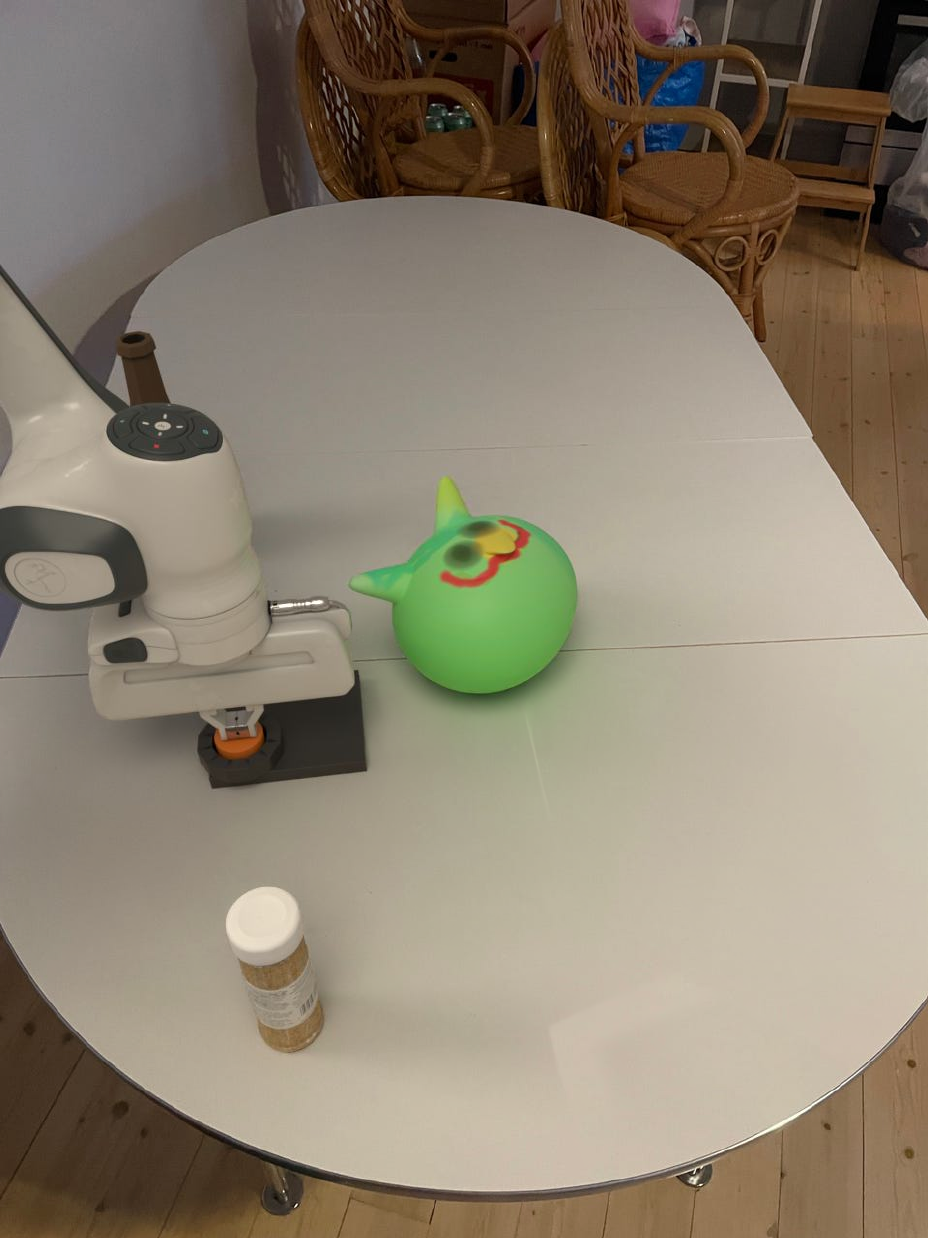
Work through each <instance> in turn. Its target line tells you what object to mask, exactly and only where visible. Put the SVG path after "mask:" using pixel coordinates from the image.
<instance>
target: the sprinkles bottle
mask: <svg viewBox="0 0 928 1238" xmlns="http://www.w3.org/2000/svg"><path fill="white" fill-rule="evenodd" d="M225 932H226V937H227V940H228V943H229V946H230V949H231V951H232V952H233V954H234V955H235V956H236V958H237V960H238V964H239V968H240V973H241V976H242V980H243V983H244V984H243V985H244V987H245V989H246V993H247V996H248V998H249V999H248V1000H249V1002H250V1005H251V1008H252V1010H253V1013H254V1015H255V1018H256V1020H257V1023H258V1025H257V1026H258V1031H259V1035H260V1036H261V1038H262V1040H263V1042H264V1043H265V1044H266V1045H267V1046H269V1047H270V1048H271V1049H273V1050H275V1051H278V1052H283V1053H284V1052H285V1053H291V1052H297V1051H299V1050H302V1049H305V1047H307V1046H309V1045H311V1044H312V1043H313V1042H314V1040H316V1038H317V1037H318V1036H319V1034H320V1032H321V1030H322V1028H323V1025H324V1024H323V1023H324V1018H325V1017H324V1016H325V1014H324V1010H323V1009H324V1008H323V1005H322V1003H321V1001H320V998H319V988H318V984H317V980H316V979H317V978H316V975H315V971H314V967H313V962H312V958H311V954H310V950H309V947H308V944H307V942H306V939H305V936H304V932H305V923H304V918H303V914H302V910H301V908H300V904H299V902H298V901H297V899H296V898H295V896H294V895H293V894H291V893H290V892H289V891H288V890H286V889H284V888H281V887H277V886H271V885H270V886H268V885H267V886H259V887H256V888H253V889H250V890H248V891H246V892H244V893H243V894H241V895H240V896H239V897H238V898H237V899H236V900H234V902H233V903H232V904H231V906H230V907H229V909H228V911H227V914H226V917H225Z"/></svg>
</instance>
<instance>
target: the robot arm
mask: <svg viewBox="0 0 928 1238" xmlns="http://www.w3.org/2000/svg"><path fill="white" fill-rule="evenodd" d="M0 407H1V408H2V410H3V412H4V413H5V415H6V417H7V419H8V422H9V425H10V426H9V427H10V432H11V438H12V439H11V442H12V448H11V451H12V452H11V454H10V456H9V458H8V460H7V463H6V464H5V467H4V469H3V471H2V473H1V475H0V591H1V592H2V593H4V594H5V595H6V596H7V597H9V598H11V599H12V600H14V601H16V602H17V603H19V604H22V605H24V606H27V607H29V608H32V609H36V610H40V611H48V612H69V611H70V612H71V611H77V610H79V611H80V610H85V609H91V608H93V609H92V611H91V616H90V619H89V620H90V621H89V626H88V631H87V632H88V633H87V654H88V656H89V659H90V662H89V669H88V674H87V677H88V680H87V681H88V685H89V691H90V695H91V699H92V703H93V705H94V709H95V712H96V713H97V714H98V715H99V716H100V717H103V718H104V719H106V720H107V721H111V722H118V721H126V720H135V719H143V718H151V717H152V718H154V717H162V716H170V715H179V714H189V713H197V712H198V713H199V716H200V718H201V719H203V720H204V721H205V722H206V723H207V724H208V723H210V724H211V725H212V726H214V727H215V728H218V729H219V733H220V737H221V740H222V741H223V740H231V739H239V738H249V737H257V721H258V719H259V717H260V716H261V714H262V713H263V711H264V704H271V703H280V702H289V701H298V700H306V699H315V698H324V697H334V696H342V695H345V694H347V693H348V692H349V690H350V689H351V688H352V687H353V686H354V670H355V668H354V660H353V659H354V658H353V653H352V649H351V644H350V641H349V636H350V635H351V633H352V630H353V622H352V621H353V620H352V613H351V611H350V609H349V608H348V606H347V604H344V603H343V602H340V601H338V600H335V599H329V596H325V595H316V596H311V597H310V598H298V599H297V598H287V599H286V598H285V599H278V600H269V599H268V594H267V588H266V584H265V583H266V582H265V578H264V574H263V568H262V565H261V561H260V558H259V556H258V554H257V552H256V551H255V549H254V548H253V546H252V542H251V541H252V540H251V539H252V534H253V518H252V514H251V509H250V504H249V500H248V496H247V492H246V487H245V484H244V479H243V478H242V474H241V470H240V468H239V464H238V462H237V458H236V456H235V454H234V451H233V449H232V446H231V444H230V443H229V440H228V439H227V437H226V435H225V433H224V432H223V431H222V429H221V428H220V426H218V424H217V423H215V422H214V420H212V419H211V418H210V417H209V416H208V415H206V414H204V413H203V412H201V411H199V410H197V409H195V408H192V407H189V406H186V405H182V404H177V403H146V404H140V405H136V406H132V407H130V404H128V403H127V402H126V401H124V399H123V400H122V399H121V398H120V397H119V396H117V395H116V394H115V393H114V392H112V391H111V390H109V389H108V388H107V387H105V386H104V385H103V384H102V383H100V382H99V381H98V380H97V379H96V378H95V377H94V376H92V374H90V373H89V372H88V371H87V370H86V369H85V368H84V367H83V366H82V364H81V363H79V361H78V360H77V359H76V357H74V355H73V354H72V353H71V352H70V350H69V349H68V348H67V347H66V345H65V344H64V343H63V342H62V340H61V339H60V338H59V336H58V335H57V334H56V332H54V330H53V328H52V327H50V325H49V324H48V323H47V321H46V320H45V319H44V318H43V316H42V315H41V314H40V312H39V311H38V310H37V308H36V307H35V306H34V305H33V303H32V302H31V301H30V300H29V299H28V297H27V296H26V295H25V293H24V292H23V291H22V290H21V289H20V287H19V286H18V284H17V283H16V282H15V281H14V280H13V278H12V277H11V276H10V275H9V274H8V272H7V271H6V269H5V268H3V266H2V265H1V264H0ZM244 706H245V707H246V710H240V711H230V712H227V711H226V710H225V709H226V708H235V707H244Z"/></svg>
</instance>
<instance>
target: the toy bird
mask: <svg viewBox="0 0 928 1238" xmlns="http://www.w3.org/2000/svg"><path fill="white" fill-rule="evenodd" d="M434 521H435V522H434V530H433V534H432V535H431V536H429V537H428V538H427V539H426V540H425V541H424V542H423V543H421V544H420V546H418V547H417V549H416V550H415V551H414V552H413V554H411V556H410V558H409V559H408V561H406V562H404V563H400V564H396V565H392V566H386V567H381V568H377V569H372V570H368V571H364V572H362V573H359V574H356V575H354V576H352V577H351V579H350V580H349V582H348V587H349V588H350V590H352V591H353V592H356V593H358V594H361V595H364V596H367V597H372V598H374V599H378V600H381V601H385V602H389V603H391V604H392V605H391V606H392V607H391V618H392V619H391V621H392V628H393V632H394V635H395V639H396V642H397V644H398V646H399V648H400V650H401V651H402V653H403V655H404V657H405V658H406V660H408V662H409V663H410V664H411V665H412V666H413V668H415V670H417V671H418V672H419V673H420V674H421V675H422V676H424V677H425V678H427V679H428V680H430V681H432V682H433V683H435V684H437V685H439V686H441V687H444V688H446V689H449V690H452V691H455V692H460V693H466V694H489V693H490V694H491V693H496V692H502V691H505V690H508V689H512V688H514V687H516V686H519V685H521V684H523V683H525V682H527V681H528V680H530V679H532V678H533V677H534V676H536V675H538V674H539V673H540V672H541V671H543V670H544V668H546V667H547V666H548V665H549V664H550V663H551V662H552V661H553V659H554V658H555V657H556V656H557V655H558V653H559V652H560V651H561V649H562V647H563V646H564V644H565V642H566V641H567V638H568V637H569V635H570V632H571V630H572V626H573V624H574V620H575V617H576V613H577V607H578V595H579V594H578V582H577V576H576V572H575V569H574V566H573V564H572V562H571V560H570V557H569V556H568V554H567V553H566V551H565V550H564V548H563V546H561V544H560V543H559V542H558V541H557V540H556V539H555V538H554V537H553V536H552V535H550V534H549V533H548V532H547V531H546V530H544V529H542V528H541V527H539V526H537V525H535V524H534V523H531V522H529V521H527V520H524V519H521V518H518V517H514V516H509V515H500V514H498V515H497V514H488V515H487V514H486V515H478V516H473V515H472V514H471V513H470V511H469V509H468V507H467V505H466V503H465V501H464V499H463V497H462V495H461V493H460V490H459V489H458V487H457V485H456V483H455V482H454V480H453V479H452V477H450V476H448V475H445V476H442V478H441V479H440V480H439V482H438V485H437V492H436V502H435V519H434Z"/></svg>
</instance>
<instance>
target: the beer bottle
mask: <svg viewBox="0 0 928 1238" xmlns="http://www.w3.org/2000/svg"><path fill="white" fill-rule="evenodd" d="M115 349H116V350H115V351H116V355H117V356H119V357H120V358H121V363H122V369H123V372H124V378H125V384H126V389H127V393H128V397H129V406H130V407H132V406H136V405H140V404H146V403H171V400H170V397H169V395H168V393H167V390H166V387H165V383H164V380H163V378H162V374H161V371H160V368H159V365H158V360H157V357H156V355H155V352H154V351H155V350H156V349H157V346H156V342H155V340H154V338H153V336H152V334H151V333H149V332H145V331H141V330H138V331H137V330H136V331H131V332H125V333H123V334H121V336H119V337H117V338H115ZM171 404H172V403H171Z"/></svg>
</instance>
